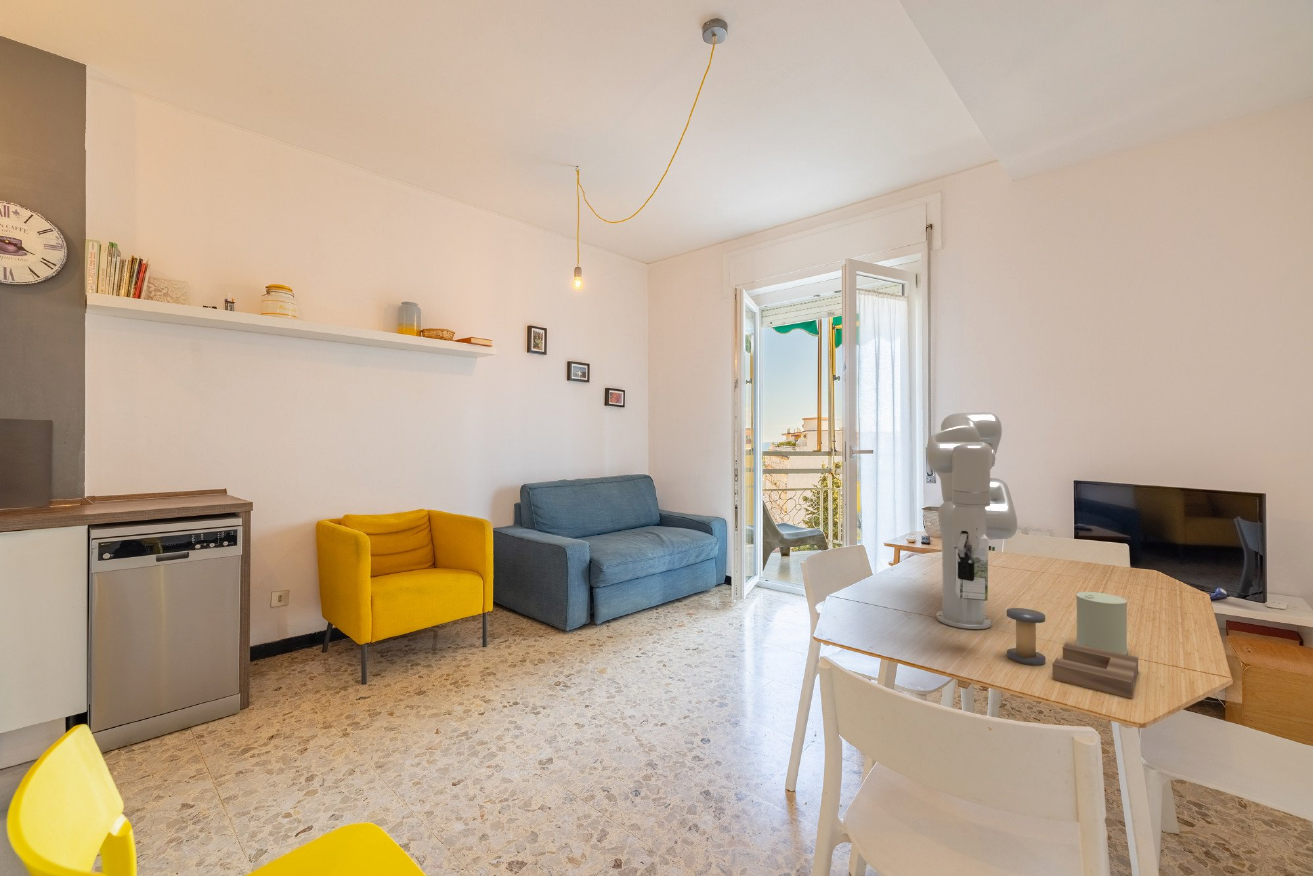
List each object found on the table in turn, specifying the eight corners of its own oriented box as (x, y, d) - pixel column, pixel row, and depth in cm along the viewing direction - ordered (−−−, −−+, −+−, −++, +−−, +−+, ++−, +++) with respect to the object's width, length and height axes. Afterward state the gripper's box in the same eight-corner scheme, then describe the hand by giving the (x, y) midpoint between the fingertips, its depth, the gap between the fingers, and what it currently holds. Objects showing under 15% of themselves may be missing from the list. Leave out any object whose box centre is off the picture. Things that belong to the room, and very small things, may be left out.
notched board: (1066, 655, 122) (1066, 642, 122) (1138, 671, 114) (1138, 657, 114) (1052, 679, 111) (1052, 664, 111) (1131, 698, 102) (1131, 682, 102)
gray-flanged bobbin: (1010, 650, 125) (1010, 605, 125) (1048, 658, 121) (1048, 612, 120) (1003, 659, 120) (1003, 613, 120) (1042, 668, 115) (1041, 620, 115)
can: (1066, 640, 131) (1066, 589, 131) (1106, 640, 131) (1106, 589, 131) (1095, 655, 122) (1095, 601, 122) (1139, 655, 122) (1138, 601, 122)
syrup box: (982, 594, 128) (982, 531, 128) (988, 602, 123) (988, 536, 122) (954, 591, 130) (954, 530, 130) (959, 599, 125) (959, 535, 124)
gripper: (964, 493, 135) (964, 565, 135) (940, 501, 122) (940, 581, 123) (999, 495, 130) (999, 571, 130) (978, 504, 117) (979, 587, 118)
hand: (971, 575), depth 126 cm, fingers closed on syrup box, 7 cm apart
